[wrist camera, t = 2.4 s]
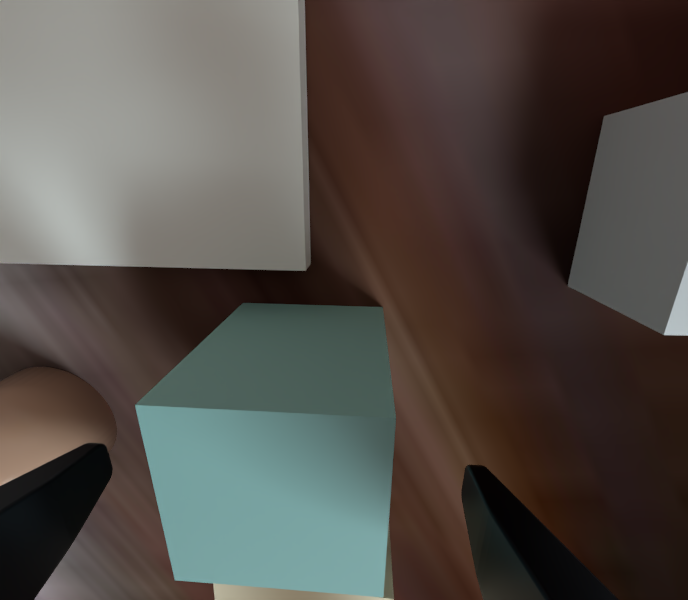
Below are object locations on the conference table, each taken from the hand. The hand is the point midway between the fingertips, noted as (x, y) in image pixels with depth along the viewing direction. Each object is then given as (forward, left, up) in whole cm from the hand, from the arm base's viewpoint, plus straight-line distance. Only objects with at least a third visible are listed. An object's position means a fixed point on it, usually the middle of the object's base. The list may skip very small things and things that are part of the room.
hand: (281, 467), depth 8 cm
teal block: (0, 0, -5) cm, 5 cm away
